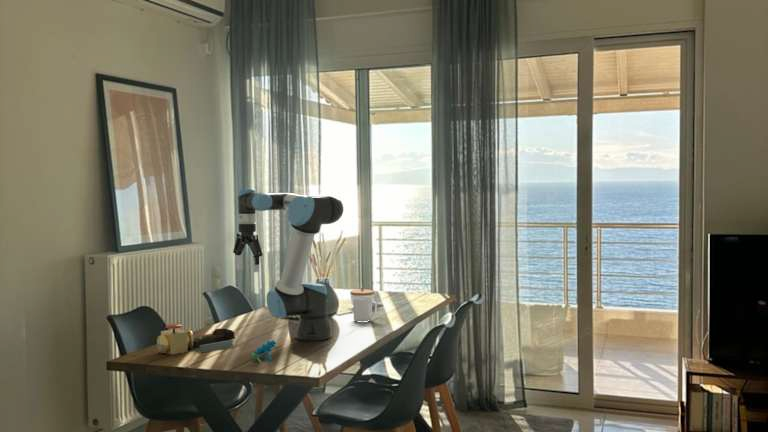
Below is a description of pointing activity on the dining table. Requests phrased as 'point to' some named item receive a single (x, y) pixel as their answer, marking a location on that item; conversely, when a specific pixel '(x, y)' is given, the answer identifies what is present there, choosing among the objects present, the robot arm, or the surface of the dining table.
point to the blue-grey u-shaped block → (214, 346)
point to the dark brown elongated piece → (214, 337)
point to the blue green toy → (264, 350)
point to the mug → (363, 308)
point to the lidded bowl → (362, 293)
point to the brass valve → (175, 340)
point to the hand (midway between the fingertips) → (247, 270)
